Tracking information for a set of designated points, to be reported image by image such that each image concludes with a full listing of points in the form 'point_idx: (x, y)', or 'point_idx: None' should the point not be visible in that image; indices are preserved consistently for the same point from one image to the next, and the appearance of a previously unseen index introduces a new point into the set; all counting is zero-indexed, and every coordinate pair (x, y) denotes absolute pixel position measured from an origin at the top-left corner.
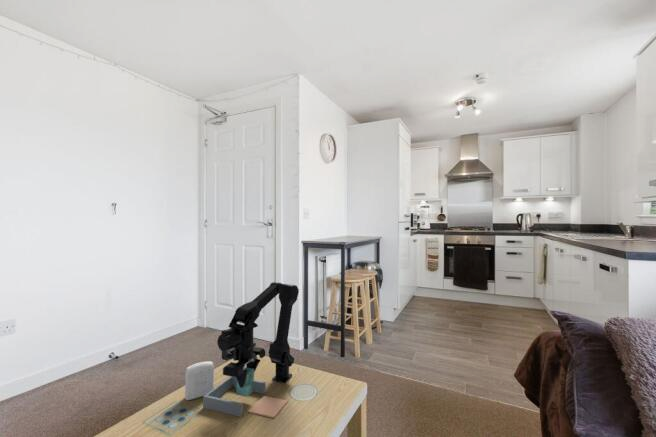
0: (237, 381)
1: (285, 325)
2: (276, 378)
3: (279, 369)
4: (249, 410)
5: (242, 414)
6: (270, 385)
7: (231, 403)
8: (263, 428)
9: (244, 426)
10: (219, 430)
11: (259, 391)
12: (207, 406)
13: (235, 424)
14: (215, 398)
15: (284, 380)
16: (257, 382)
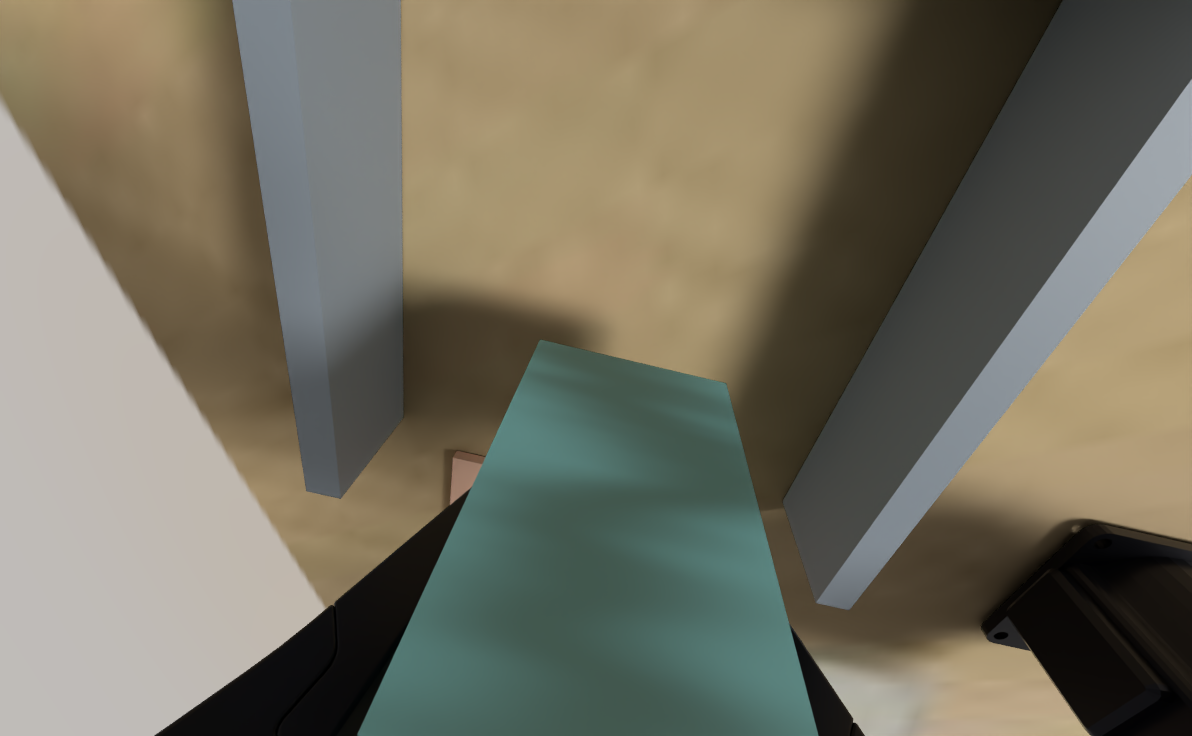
0: (469, 503)
1: None
2: (1054, 593)
3: (1141, 733)
4: (465, 460)
5: (395, 421)
6: (955, 521)
7: (297, 371)
8: (331, 574)
9: (289, 469)
10: (139, 298)
11: (812, 464)
12: None
13: (274, 399)
14: (257, 37)
15: (1009, 630)
16: (861, 524)
